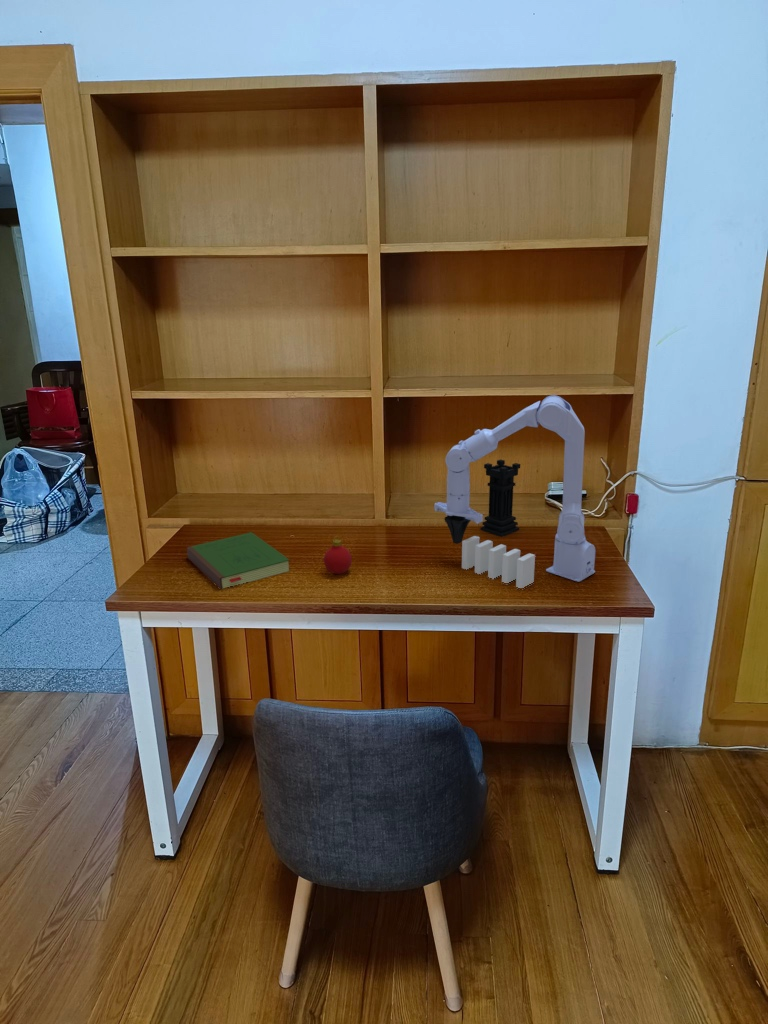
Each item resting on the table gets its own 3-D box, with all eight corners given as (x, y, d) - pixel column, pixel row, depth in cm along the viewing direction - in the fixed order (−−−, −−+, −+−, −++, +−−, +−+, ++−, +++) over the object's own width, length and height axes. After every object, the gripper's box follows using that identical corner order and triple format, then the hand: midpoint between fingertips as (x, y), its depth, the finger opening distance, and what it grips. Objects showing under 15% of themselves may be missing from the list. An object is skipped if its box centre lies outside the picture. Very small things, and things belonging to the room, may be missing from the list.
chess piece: (480, 529, 200) (482, 464, 194) (497, 523, 205) (500, 458, 199) (501, 537, 195) (504, 469, 188) (519, 529, 200) (522, 464, 193)
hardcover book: (188, 560, 185) (186, 547, 184) (252, 544, 195) (251, 532, 194) (222, 593, 166) (220, 579, 164) (291, 574, 175) (290, 560, 174)
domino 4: (519, 578, 169) (520, 550, 166) (507, 584, 166) (508, 556, 163) (513, 576, 170) (515, 548, 167) (501, 582, 167) (502, 554, 164)
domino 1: (478, 564, 177) (479, 537, 175) (466, 569, 174) (467, 542, 172) (473, 562, 178) (474, 535, 176) (461, 568, 175) (462, 541, 173)
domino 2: (491, 568, 174) (492, 541, 172) (479, 574, 171) (480, 547, 169) (486, 566, 176) (487, 539, 173) (474, 572, 172) (475, 545, 170)
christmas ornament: (346, 565, 179) (344, 529, 175) (356, 575, 173) (355, 538, 169) (320, 570, 176) (318, 533, 173) (330, 580, 170) (328, 543, 167)
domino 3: (505, 573, 172) (506, 545, 169) (493, 579, 168) (494, 551, 166) (500, 571, 173) (501, 544, 170) (487, 577, 169) (488, 549, 167)
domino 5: (533, 583, 166) (535, 554, 163) (521, 589, 163) (522, 561, 160) (528, 581, 167) (529, 553, 164) (515, 587, 164) (517, 559, 161)
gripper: (426, 490, 175) (426, 539, 180) (470, 502, 165) (469, 554, 170) (444, 484, 180) (444, 532, 184) (488, 495, 170) (487, 546, 174)
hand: (457, 542), depth 177 cm, fingers closed
